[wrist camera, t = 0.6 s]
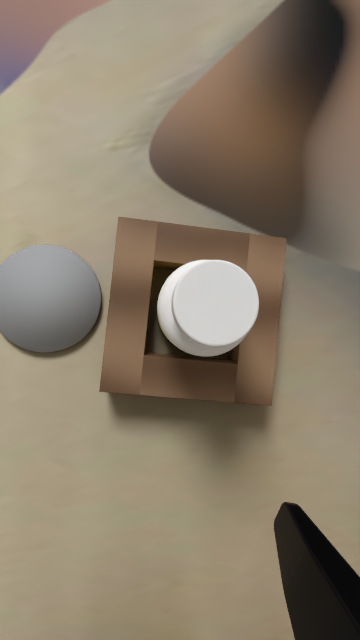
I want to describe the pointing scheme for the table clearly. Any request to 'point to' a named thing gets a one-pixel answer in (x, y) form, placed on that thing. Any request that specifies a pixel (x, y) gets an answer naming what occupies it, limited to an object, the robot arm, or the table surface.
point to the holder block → (134, 305)
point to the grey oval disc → (47, 298)
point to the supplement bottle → (207, 307)
